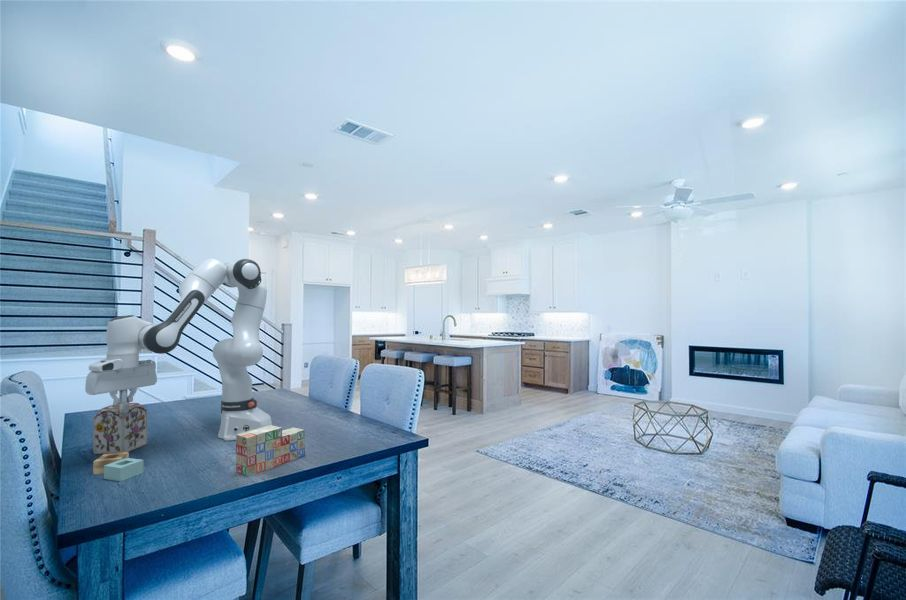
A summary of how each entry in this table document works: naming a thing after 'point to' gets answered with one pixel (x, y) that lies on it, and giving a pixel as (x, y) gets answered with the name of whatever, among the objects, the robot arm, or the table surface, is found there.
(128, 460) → the green block with hole
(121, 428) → the decorative jar
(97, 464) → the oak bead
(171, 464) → the table surface
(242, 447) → the stack of blocks
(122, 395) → the steel needle peg
